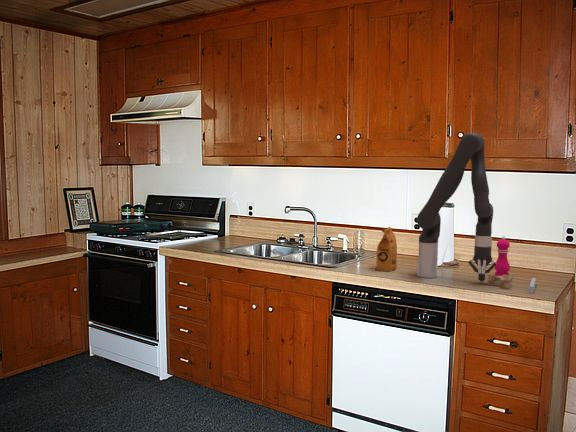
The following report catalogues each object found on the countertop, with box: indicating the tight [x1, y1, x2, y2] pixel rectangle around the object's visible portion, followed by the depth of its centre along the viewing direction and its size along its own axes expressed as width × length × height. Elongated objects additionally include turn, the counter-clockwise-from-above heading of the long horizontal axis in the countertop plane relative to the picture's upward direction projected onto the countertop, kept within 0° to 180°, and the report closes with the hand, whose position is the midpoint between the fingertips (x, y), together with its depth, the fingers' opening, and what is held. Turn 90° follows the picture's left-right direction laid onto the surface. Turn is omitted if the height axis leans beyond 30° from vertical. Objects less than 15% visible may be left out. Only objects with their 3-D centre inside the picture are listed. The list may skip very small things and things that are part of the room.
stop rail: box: [528, 277, 537, 294], centre depth 252 cm, size 2×18×3 cm, turn 153°
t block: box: [486, 274, 513, 290], centre depth 258 cm, size 10×12×4 cm
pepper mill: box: [493, 236, 511, 276], centre depth 275 cm, size 7×7×20 cm
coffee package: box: [375, 226, 398, 273], centre depth 292 cm, size 10×12×22 cm
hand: (481, 281), depth 262 cm, fingers closed
